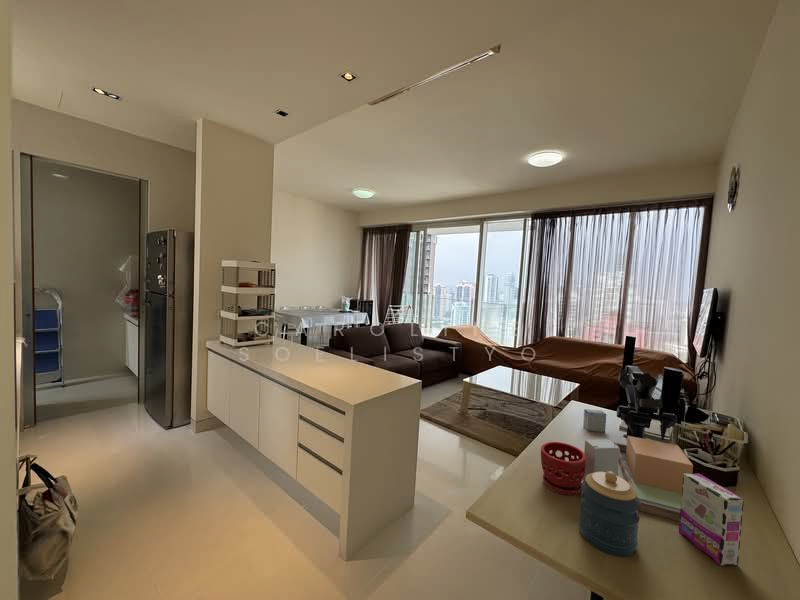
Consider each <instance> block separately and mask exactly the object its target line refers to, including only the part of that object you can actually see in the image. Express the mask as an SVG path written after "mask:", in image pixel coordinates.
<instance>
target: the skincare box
mask: <svg viewBox="0 0 800 600" xmlns="http://www.w3.org/2000/svg"><path fill="white" fill-rule="evenodd" d="M619 451H620V448H618V447H617V446H616V445H615V444H614V442H612V441H611V440H609V439H585V440H584V451H583V453H584V454H585V456H586V469H585V474H584V477H583V480H582V483H583V482H584V481H585V478H586V476H587V475H588V474H590V473H595V472H608V471H611V472H614V473H615V474H616V475H617V476H619V467H620V465H619Z"/></svg>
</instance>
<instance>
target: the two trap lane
mask: <svg viewBox="0 0 800 600" xmlns="http://www.w3.org/2000/svg"><path fill="white" fill-rule="evenodd" d="M613 444H615V445H616V446H617V447H618V448H620V451H619V467H620V468H619V469H620V470H621V474H622V476H623V479H624V480H626V481H627V482H628V483H629V484H630V485H632V486H633V487H634V488H635V490H636V491H637V498H638V499H639V501H640V503H641V507H640V509H639V510H638V511H640V512H642V513H643V512H644V513H648V514H650V515H655V516H658V517H662V518H665V519H669V520H673V521H676V522H679V521H680V509H681V496H682V494H680V493H676V492H672V491H668V490H664V489H660V488H655V487H651V486H647V485H643V484H639V483H635V482H633V479H632V477H631V475H630V472H629V469H628V467H627V464H626V448H627V444H624V443H619V442H613Z"/></svg>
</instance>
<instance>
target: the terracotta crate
mask: <svg viewBox="0 0 800 600" xmlns="http://www.w3.org/2000/svg"><path fill="white" fill-rule="evenodd" d="M626 445H627V448H626V460H625V465H626V467H627V470H628V473H629V475H630V477H632V479H633V482H635V483H639V484H643V485H647V486H651V487H655V488H660V489H664V490H668V491H672V492H676V493H680V494H682V484H683V474H692V473H693V469H694V465H693V463H692V462H691V461H690V459H689V458H688V457H687V455H686V454H685V453H684V452H683V450H682V449H681V447H680V446H679V445H677V444H674V443H669V442H668V443H667V442H662V441H657V440H654V439H648V438H645V439H642V438H637V437H632V436H627V437H626Z"/></svg>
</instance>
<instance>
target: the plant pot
mask: <svg viewBox="0 0 800 600" xmlns="http://www.w3.org/2000/svg"><path fill="white" fill-rule="evenodd" d="M550 451H551V452H550ZM557 452H560V453H561V456H558V455H557V454H556V453H557ZM566 452H567V453H568V454H566ZM566 458H567V459H568V460H566ZM540 462H541V467H542V472H543V474H542V480H543V482H544V483H545V486H547V487H548V488H550V490H553V491H554V492H557V493H559V494H563V495H570V496H571V495H576V494H579V493H580V492H582V489H581V484H582V483H583V477H584V474H585V469H586V456H585V454H584V451H582V449H580V448H578V447H577V446H574V445H571V444H570V443H569V444H568V443H566V442H559V441H549V442H546V443H543V444H542V445H541V448H540Z"/></svg>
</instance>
